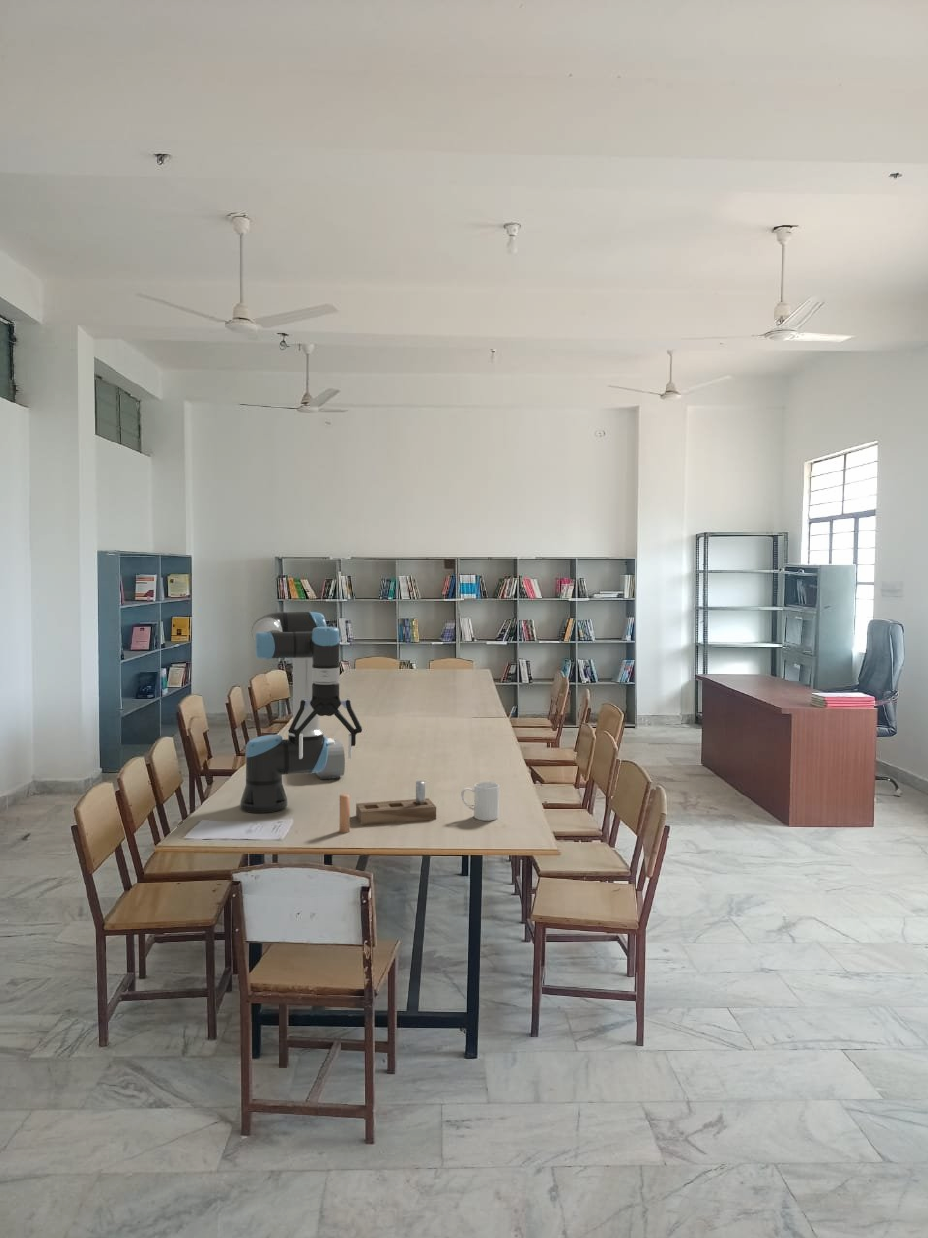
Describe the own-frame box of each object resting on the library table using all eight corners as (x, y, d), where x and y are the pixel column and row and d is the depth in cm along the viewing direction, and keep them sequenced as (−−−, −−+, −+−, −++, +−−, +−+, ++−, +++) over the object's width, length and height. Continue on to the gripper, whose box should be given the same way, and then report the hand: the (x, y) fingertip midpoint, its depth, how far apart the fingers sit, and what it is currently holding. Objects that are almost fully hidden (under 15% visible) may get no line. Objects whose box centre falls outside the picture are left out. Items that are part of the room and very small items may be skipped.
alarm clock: (311, 769, 325) (311, 735, 324) (335, 767, 328) (335, 734, 327) (319, 782, 306) (319, 746, 305) (344, 780, 309) (344, 745, 308)
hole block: (356, 815, 265) (356, 803, 265) (428, 810, 272) (428, 798, 272) (361, 825, 255) (361, 812, 255) (436, 819, 262) (436, 806, 262)
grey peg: (414, 814, 267) (414, 781, 266) (423, 813, 268) (423, 780, 267) (416, 817, 264) (417, 783, 263) (425, 816, 265) (426, 782, 264)
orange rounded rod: (338, 830, 250) (339, 794, 249) (348, 829, 251) (348, 794, 250) (340, 833, 247) (340, 797, 246) (350, 832, 248) (350, 796, 247)
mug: (494, 813, 270) (495, 781, 269) (501, 820, 262) (501, 788, 261) (458, 815, 267) (459, 783, 266) (464, 822, 259) (464, 789, 259)
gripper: (278, 684, 224) (278, 761, 226) (370, 684, 227) (370, 760, 228) (281, 680, 232) (281, 754, 233) (371, 680, 234) (370, 754, 236)
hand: (325, 757), depth 231 cm, fingers open, 13 cm apart
